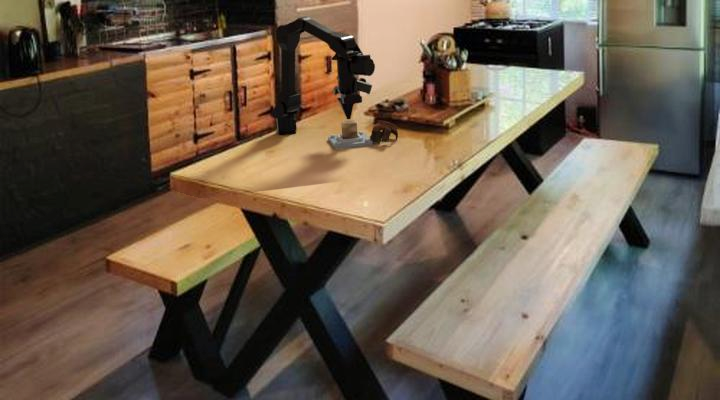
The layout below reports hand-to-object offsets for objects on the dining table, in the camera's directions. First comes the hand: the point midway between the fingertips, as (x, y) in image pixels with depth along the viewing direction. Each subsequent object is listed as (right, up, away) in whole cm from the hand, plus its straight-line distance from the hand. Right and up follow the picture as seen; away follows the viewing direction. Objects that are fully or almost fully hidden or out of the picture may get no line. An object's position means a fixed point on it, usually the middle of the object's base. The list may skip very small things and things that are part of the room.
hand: (348, 119), depth 258 cm
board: (0, -8, +3) cm, 8 cm away
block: (0, -7, +2) cm, 7 cm away
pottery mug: (+12, -8, +2) cm, 15 cm away
